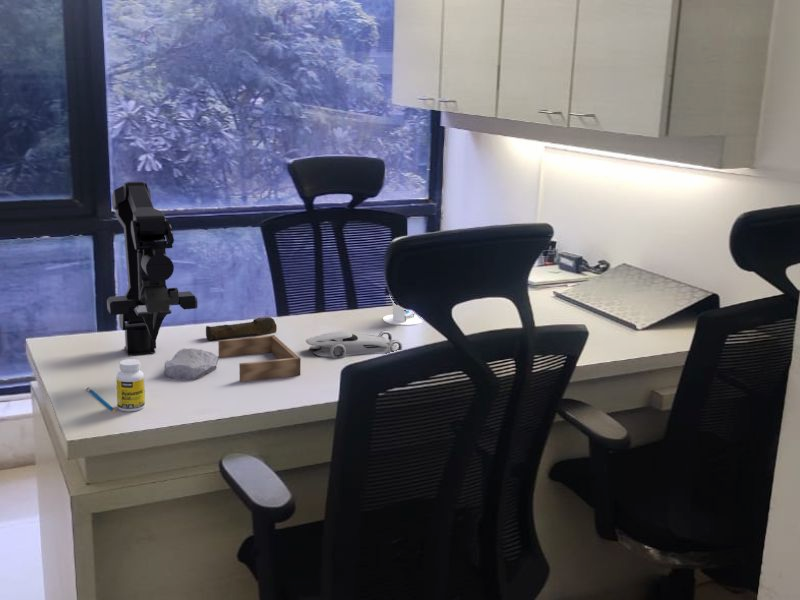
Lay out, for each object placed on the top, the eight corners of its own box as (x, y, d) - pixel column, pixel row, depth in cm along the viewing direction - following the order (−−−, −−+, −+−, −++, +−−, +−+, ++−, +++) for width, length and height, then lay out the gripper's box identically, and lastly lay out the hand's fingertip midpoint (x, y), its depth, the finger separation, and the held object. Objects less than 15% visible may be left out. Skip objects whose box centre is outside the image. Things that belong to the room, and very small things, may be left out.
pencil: (90, 390, 193) (90, 386, 193) (118, 414, 180) (118, 411, 180) (86, 390, 193) (86, 387, 193) (114, 415, 180) (114, 412, 180)
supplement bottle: (119, 413, 180) (117, 367, 178) (116, 404, 185) (114, 359, 182) (147, 410, 182) (145, 364, 180) (143, 401, 187) (141, 356, 184)
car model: (405, 354, 226) (406, 335, 225) (310, 360, 219) (310, 341, 217) (392, 342, 236) (392, 323, 235) (301, 347, 229) (301, 328, 228)
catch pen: (240, 381, 201) (240, 364, 200) (218, 356, 218) (218, 340, 217) (300, 375, 207) (300, 358, 206) (274, 350, 224) (274, 335, 223)
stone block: (219, 372, 213) (180, 361, 213) (223, 354, 211) (183, 342, 212) (202, 391, 201) (160, 379, 202) (205, 371, 200) (163, 359, 201)
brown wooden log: (209, 343, 229) (208, 325, 228) (204, 338, 233) (204, 321, 232) (279, 336, 238) (279, 319, 237) (274, 332, 241) (274, 315, 240)
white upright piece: (411, 328, 249) (413, 275, 245) (375, 322, 253) (376, 270, 250) (429, 318, 259) (431, 267, 256) (393, 313, 264) (395, 263, 260)
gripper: (112, 282, 186) (115, 354, 190) (202, 277, 194) (203, 346, 197) (105, 271, 195) (108, 340, 199) (191, 266, 203) (192, 332, 207)
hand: (153, 340), depth 201 cm, fingers closed
